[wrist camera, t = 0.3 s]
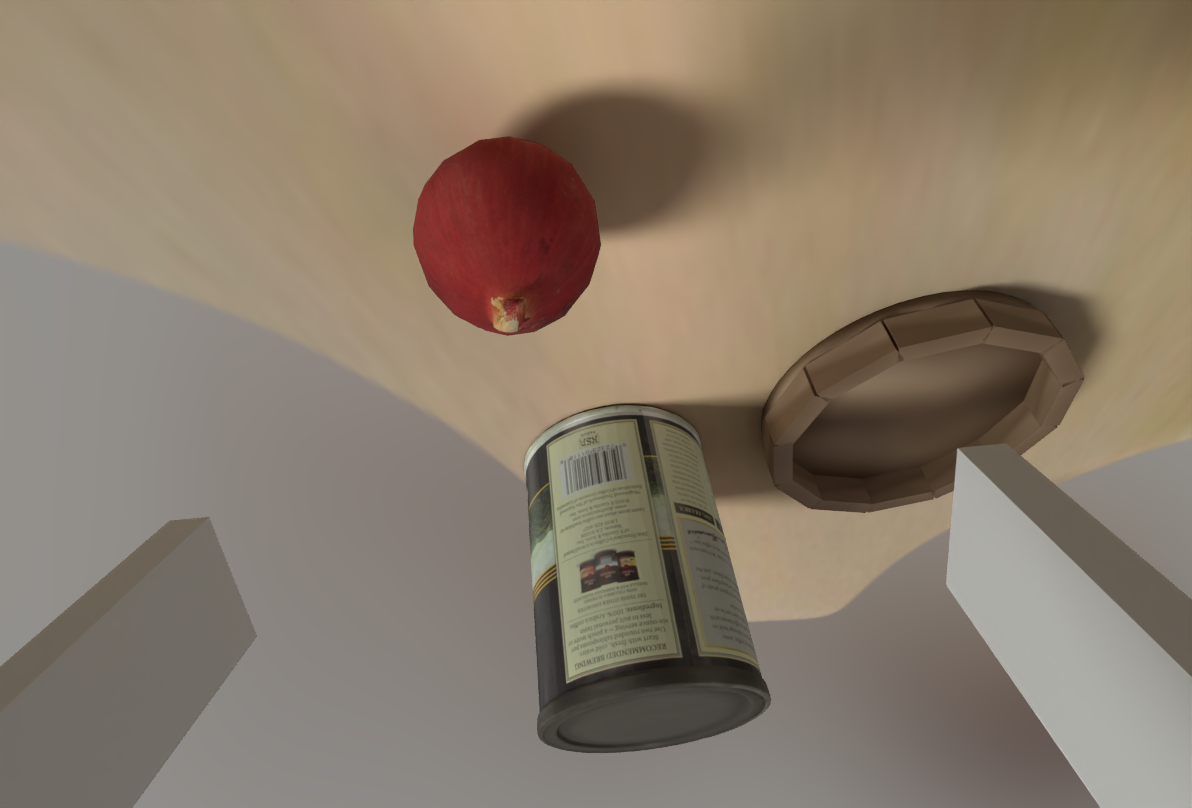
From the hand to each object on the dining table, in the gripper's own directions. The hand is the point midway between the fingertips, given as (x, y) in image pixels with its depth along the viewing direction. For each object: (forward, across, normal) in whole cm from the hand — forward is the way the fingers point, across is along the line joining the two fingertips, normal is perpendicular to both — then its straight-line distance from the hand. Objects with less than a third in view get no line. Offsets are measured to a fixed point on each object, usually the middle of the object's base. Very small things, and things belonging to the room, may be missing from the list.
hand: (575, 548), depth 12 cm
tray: (+25, +15, -9) cm, 30 cm away
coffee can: (+24, -1, -10) cm, 26 cm away
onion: (+15, -3, +6) cm, 16 cm away
